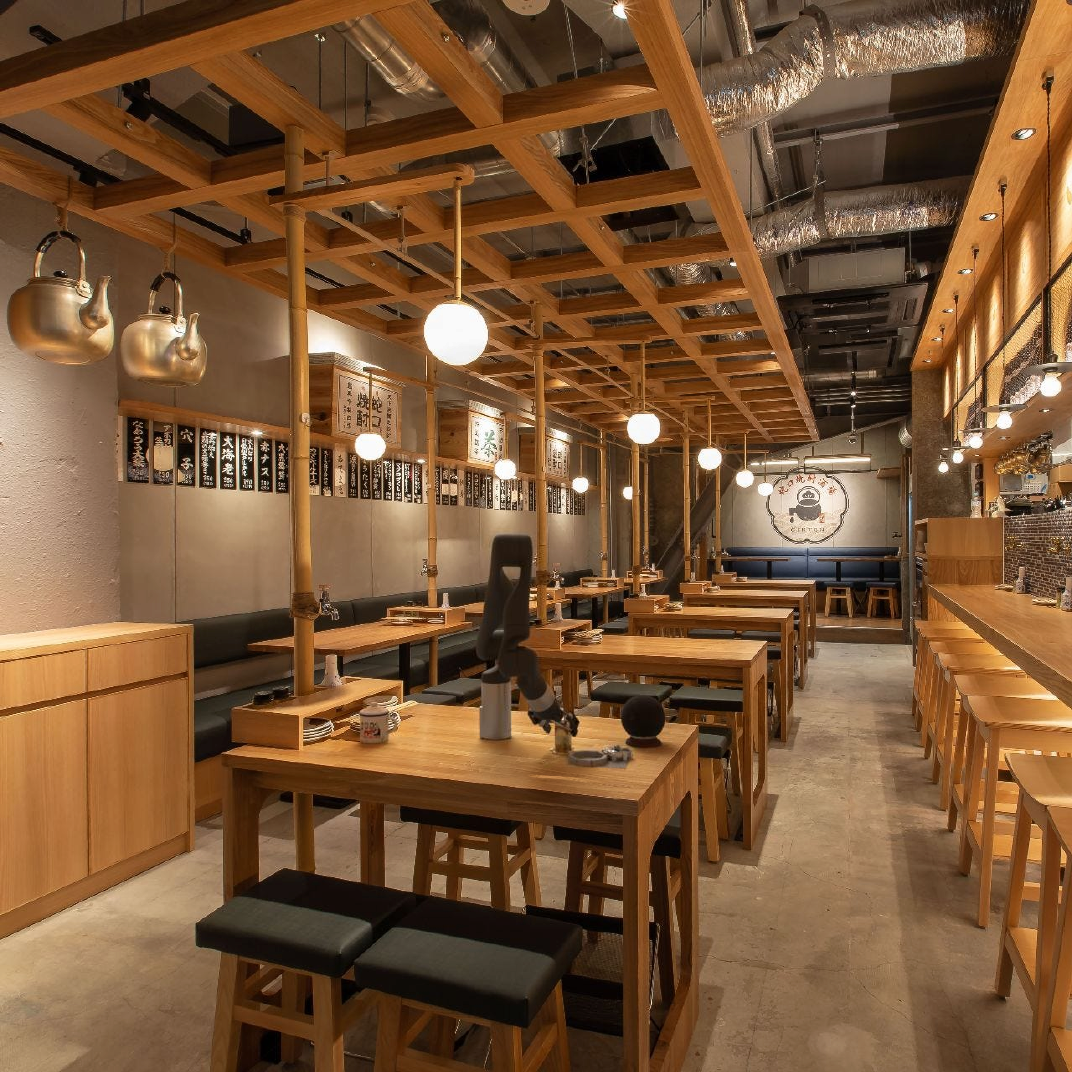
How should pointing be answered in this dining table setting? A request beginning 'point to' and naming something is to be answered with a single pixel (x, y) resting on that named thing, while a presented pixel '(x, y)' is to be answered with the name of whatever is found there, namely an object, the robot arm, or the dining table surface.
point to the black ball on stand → (643, 721)
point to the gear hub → (562, 740)
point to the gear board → (609, 764)
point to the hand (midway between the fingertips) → (562, 732)
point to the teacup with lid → (375, 724)
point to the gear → (618, 753)
